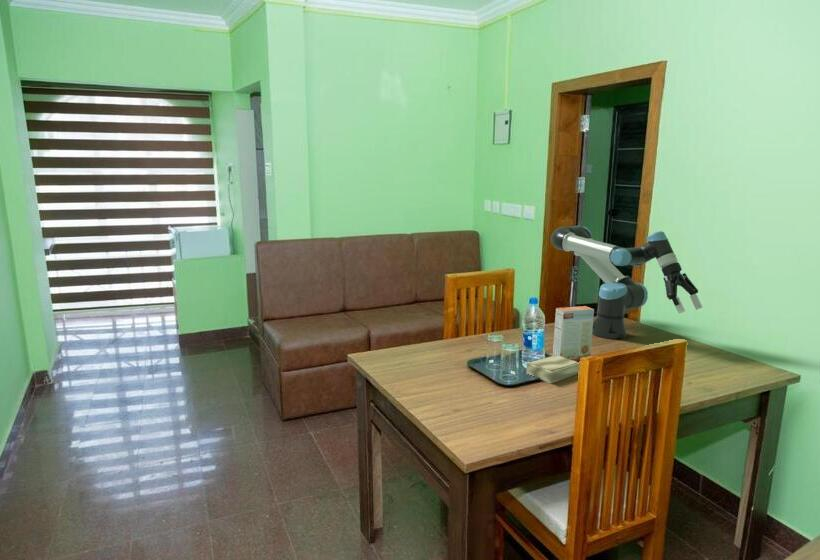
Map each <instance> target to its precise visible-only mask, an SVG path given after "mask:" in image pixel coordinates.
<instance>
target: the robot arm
mask: <svg viewBox="0 0 820 560" xmlns="http://www.w3.org/2000/svg"><path fill="white" fill-rule="evenodd" d="M646 239H647V242H645V244H643V245H640V246H637V247H622V246H618V245H614V244H612V243H606V242H604V241H599V240H595V239H593V234H592V232H591V230H590V229H589V228H588V227H586V226H582V225H574V226H573V225H571V226H559V227H558V228H556V229H554V231H553V232H552V233H551V235H550V240H551V244H552V245H553V247H554V249H556V250H560V251H563V252H564V251H565V252H571V253H572V254H573V255H574V256H576V257H580V258H581V259H583V261H584V262H585V263H586V264H587V265H588V266H589V267H590V268H591V270H592V271H594V273H595V274H597V276H598V278H600V279H601V280H602V281H603V284H601V285H600V287H599V292H598V299H597V300H598V302H597V310H596V311H597V312H596V317H595V319H594V320H593V329H592V335H594V336H597V337H599V338H604V339H609V340H610V339H613V340H618V339H617V338H621V339H624V337H625V338H626V337H627V328H626V324H625V320H624V317H625V311H628V310H635V309H639V308H641V307H643V306H644V305H645V304H646V303H647V301H648V298H649V297H648V296H649V295H648V294H649V291H648V289H647V287H646V286H645V285H644V284H643V283H640V282H635V281H634V280H633V279H632V278H631V277H630V276H629V275H624V274H623V273H622V272H621V271H620V270H619V269H618V268H617V267H618V266H620V267H625V266H633V267H634V268H636V267H639V266H642V265H643V266H644V264H646V263H648V262H649V261H651V260H653V259H656V261H657V263H658V266H659V268H660V269H661V272H662V274H663V276H664V277H663V281H664V287H665V291H666V293H665V294H666V298H667V299H668V300H672V303H673V304H674V307H675V309H676V312H677V313H678V314H681V313H684V312H686V310H685V308H684V306H683V304H682V301H681V299H680V297H679V296H678V286H679V287H681V288H682V289H683V290H685V292H687V293H688V295H689V297H690V300H691V303H692V304H693V306H694V309H695V310H700V309H702V308H703V305H702V303H701V301H700V299H699V297H698V295H697V294H698V293H699V289H698V288H697V287H696V286H695V284H694V283H693V282H692V281H691V279H690V278H689V277H688V275H687V274H686V272H684V273H681V271H682V270H683V269H682V266H681V264H680V262H678V258H677V255H676V254H675V252H674V249H673V248H672V246H671V243H670V241H669V238H668V237H667V236H666V234H665V232H664V231H661V230H660V231H656V232H653V233H651V234H649V235H648V236H647V237H646ZM616 266H617V267H616Z"/></svg>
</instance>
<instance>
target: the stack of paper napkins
mask: <svg viewBox="0 0 820 560" xmlns="http://www.w3.org/2000/svg"><path fill="white" fill-rule="evenodd" d="M579 363H580V361H573V360H570V359H567V358H564V357H561V356H558V355H553V354H552V355H551V356H547V357H544V358H540V359H536V360H534V361H530V362H528V363H527V362H526V368H525V369H526V371H525V373H526V375H528V374H529V375H528V376H530V375H532V376H531V377H533V376H535V377H538V378H540V379H539V380H540V381H544V382H546V383H548V384H553V383H556V382H559V381H562V380H564V379H568V378H571V377H573V376H576V375H578V374H577V373H578V365H579ZM535 377H534V378H535ZM538 378H537V379H538Z"/></svg>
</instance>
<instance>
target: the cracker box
mask: <svg viewBox="0 0 820 560" xmlns="http://www.w3.org/2000/svg"><path fill="white" fill-rule="evenodd" d="M594 314H595V309H594V308H591V307H589V306H587V305H583V306H580V305H579V306H570V307H568V306H566V307H556V308H555V314H554V315H555V317H554V327H553V328H554V330H553V331H554V333H553V344H552V345H553V346H552V356H553V355H558V356H561V357H564V358H567V359H570V360H573V361H576V362H580V361H579V360H580V358H582V357H587V356H590V357H591V351H592V350H591V348H592V337H593V334H592V329H593V323H594Z"/></svg>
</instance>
